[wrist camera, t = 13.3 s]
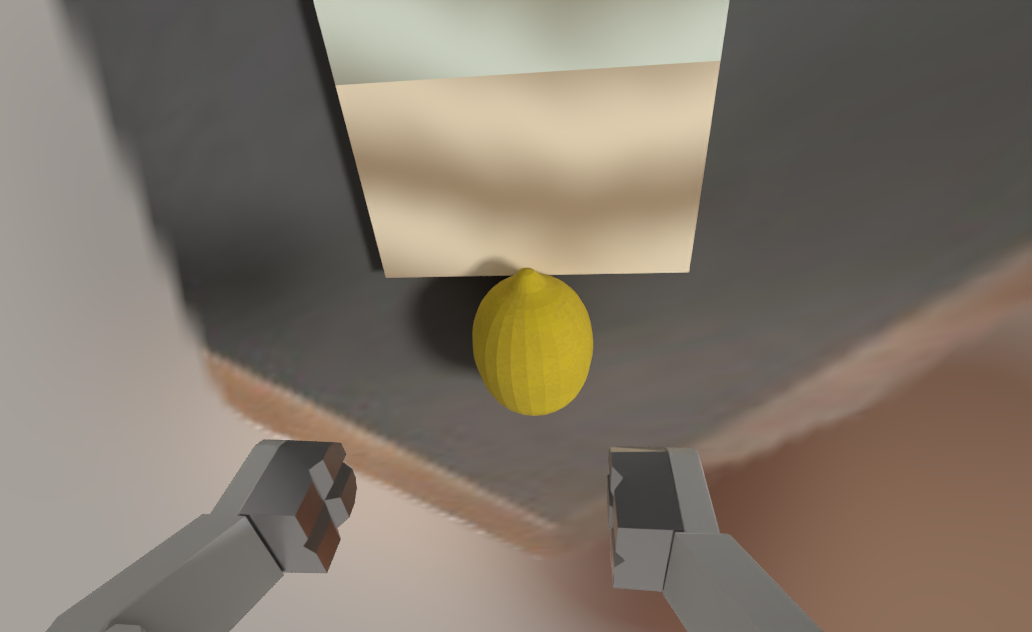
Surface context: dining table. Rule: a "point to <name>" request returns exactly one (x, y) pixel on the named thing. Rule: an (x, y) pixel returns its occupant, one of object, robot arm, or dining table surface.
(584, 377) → the lemon
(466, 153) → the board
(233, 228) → the dining table surface
